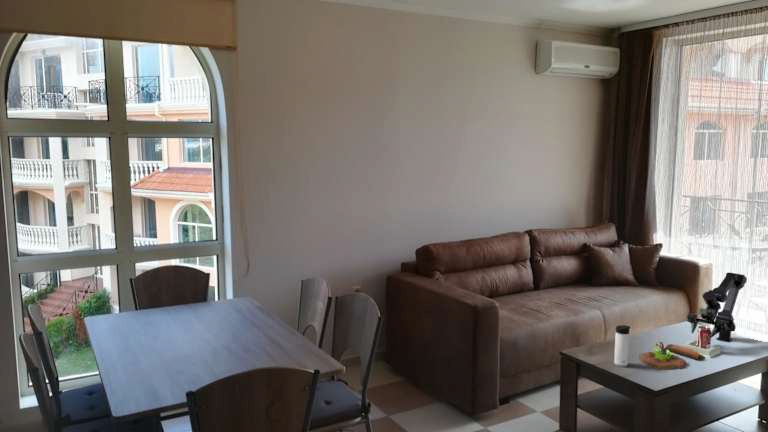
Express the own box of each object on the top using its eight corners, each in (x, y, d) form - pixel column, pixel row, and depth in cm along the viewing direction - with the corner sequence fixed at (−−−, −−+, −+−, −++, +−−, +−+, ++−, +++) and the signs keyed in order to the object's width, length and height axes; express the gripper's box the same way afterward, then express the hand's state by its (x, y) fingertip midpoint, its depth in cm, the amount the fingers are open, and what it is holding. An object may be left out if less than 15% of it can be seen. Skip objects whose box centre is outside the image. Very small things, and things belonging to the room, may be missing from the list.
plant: (631, 358, 299) (632, 337, 298) (661, 354, 306) (662, 333, 304) (661, 372, 281) (662, 350, 279) (692, 367, 287) (694, 345, 285)
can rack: (693, 345, 318) (693, 338, 317) (720, 352, 307) (721, 345, 306) (681, 350, 310) (682, 343, 309) (709, 357, 299) (710, 351, 298)
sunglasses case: (707, 357, 299) (704, 348, 296) (700, 366, 296) (697, 357, 293) (674, 347, 314) (671, 338, 311) (667, 356, 311) (664, 346, 309)
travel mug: (627, 368, 285) (629, 328, 283) (612, 365, 289) (614, 326, 286) (629, 364, 290) (631, 325, 288) (615, 361, 294) (617, 323, 292)
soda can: (713, 351, 305) (714, 328, 304) (702, 352, 303) (704, 330, 302) (702, 346, 312) (704, 325, 310) (692, 348, 310) (693, 326, 308)
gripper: (689, 298, 315) (678, 322, 309) (726, 306, 300) (716, 331, 295) (695, 310, 320) (684, 333, 315) (732, 318, 306) (721, 343, 300)
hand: (701, 335), depth 306 cm, fingers open, 9 cm apart
